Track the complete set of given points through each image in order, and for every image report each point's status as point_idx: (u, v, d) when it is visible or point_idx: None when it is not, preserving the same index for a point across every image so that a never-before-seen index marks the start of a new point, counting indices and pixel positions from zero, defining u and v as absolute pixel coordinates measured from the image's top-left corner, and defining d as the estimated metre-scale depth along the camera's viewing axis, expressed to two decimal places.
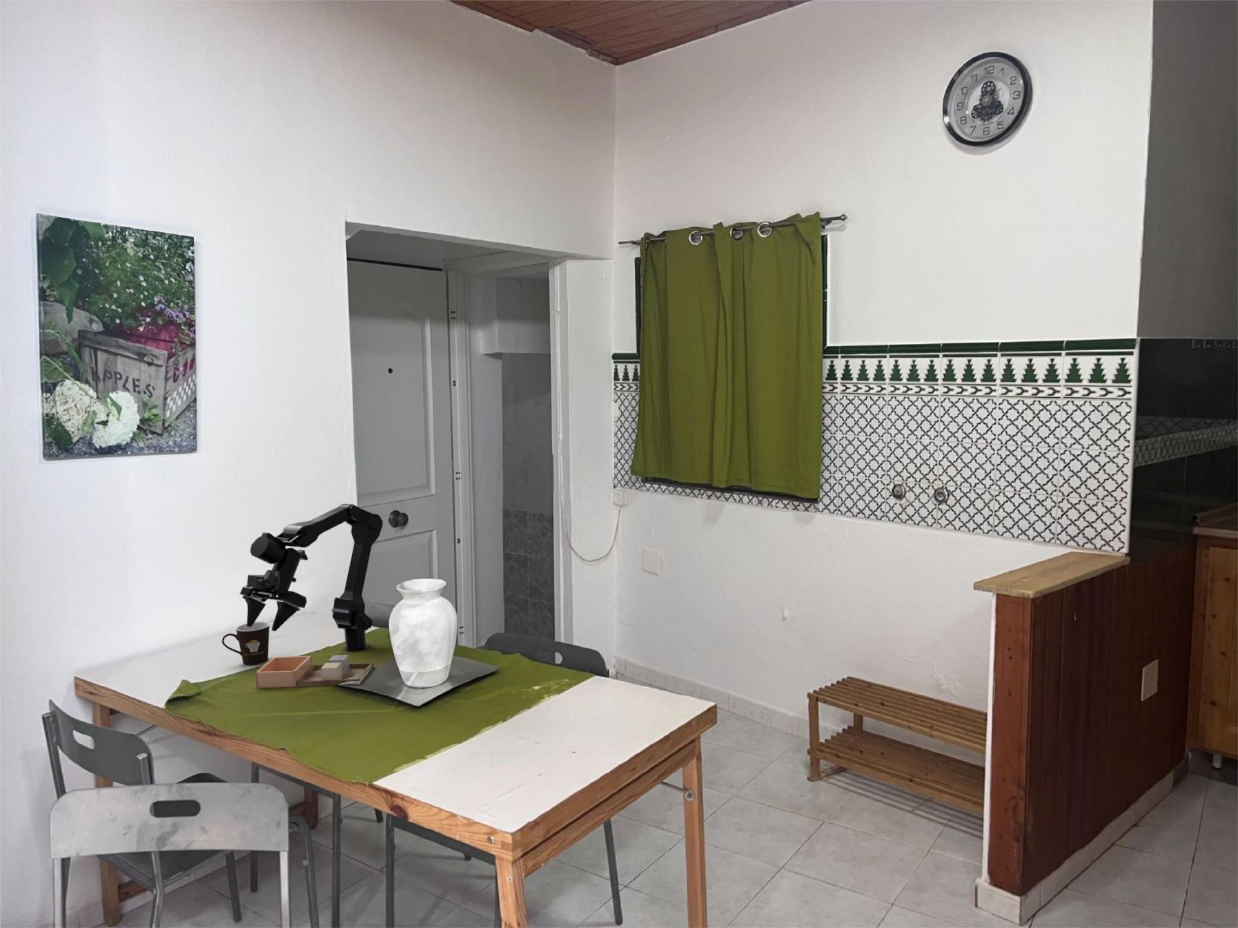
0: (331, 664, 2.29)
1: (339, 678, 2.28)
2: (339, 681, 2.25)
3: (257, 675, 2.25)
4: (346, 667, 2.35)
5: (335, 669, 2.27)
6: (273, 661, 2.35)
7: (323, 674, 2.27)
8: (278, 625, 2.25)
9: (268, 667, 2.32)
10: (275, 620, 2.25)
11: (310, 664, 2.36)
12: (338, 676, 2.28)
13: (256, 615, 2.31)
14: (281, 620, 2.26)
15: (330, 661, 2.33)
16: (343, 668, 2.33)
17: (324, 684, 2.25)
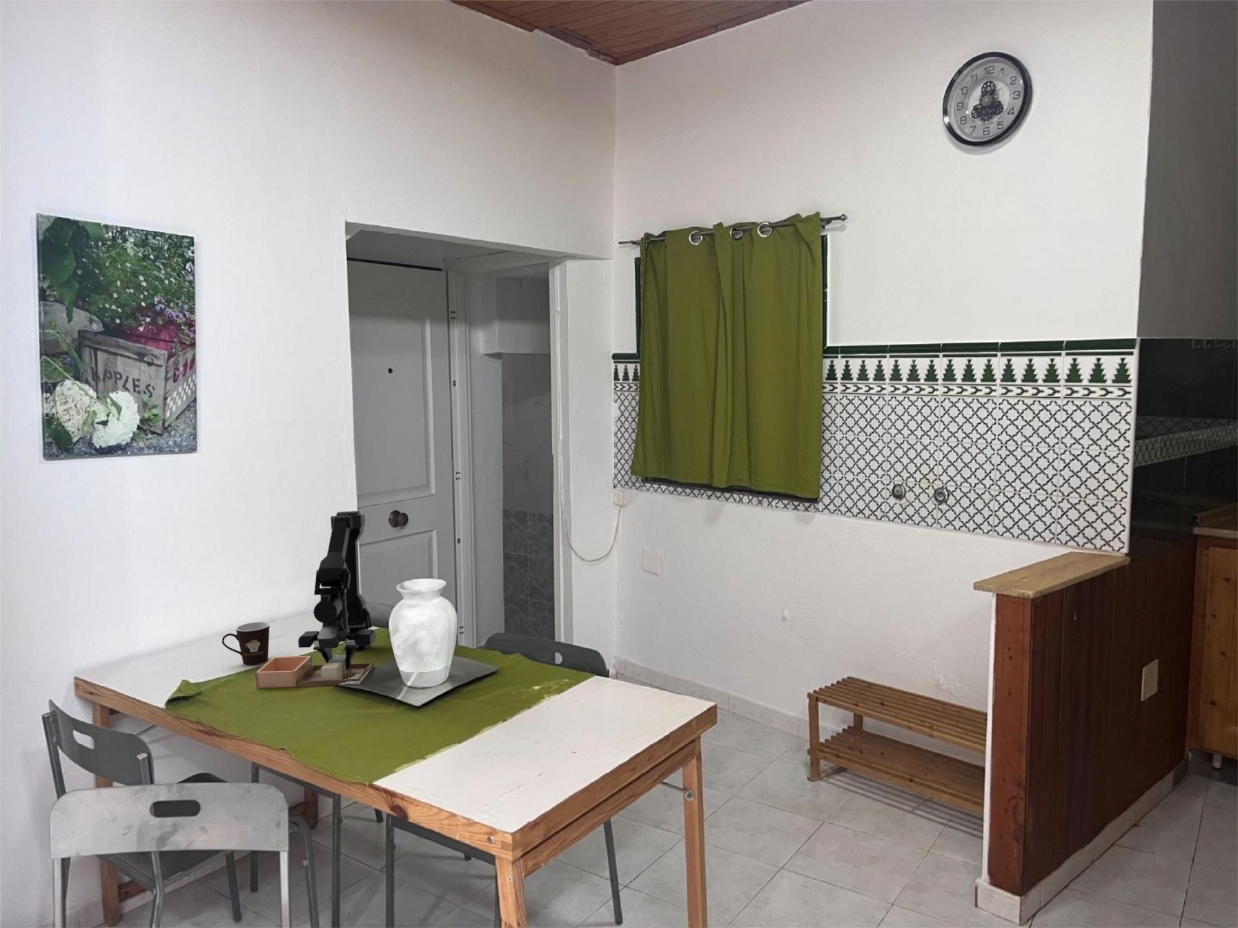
0: (331, 664, 2.29)
1: (339, 678, 2.28)
2: (339, 681, 2.25)
3: (257, 675, 2.25)
4: None
5: (335, 669, 2.27)
6: (273, 661, 2.35)
7: (323, 674, 2.27)
8: (350, 663, 2.35)
9: (268, 667, 2.32)
10: (347, 662, 2.34)
11: (310, 664, 2.36)
12: (338, 676, 2.28)
13: (331, 656, 2.35)
14: (351, 658, 2.35)
15: (330, 661, 2.33)
16: (343, 668, 2.33)
17: (324, 684, 2.25)
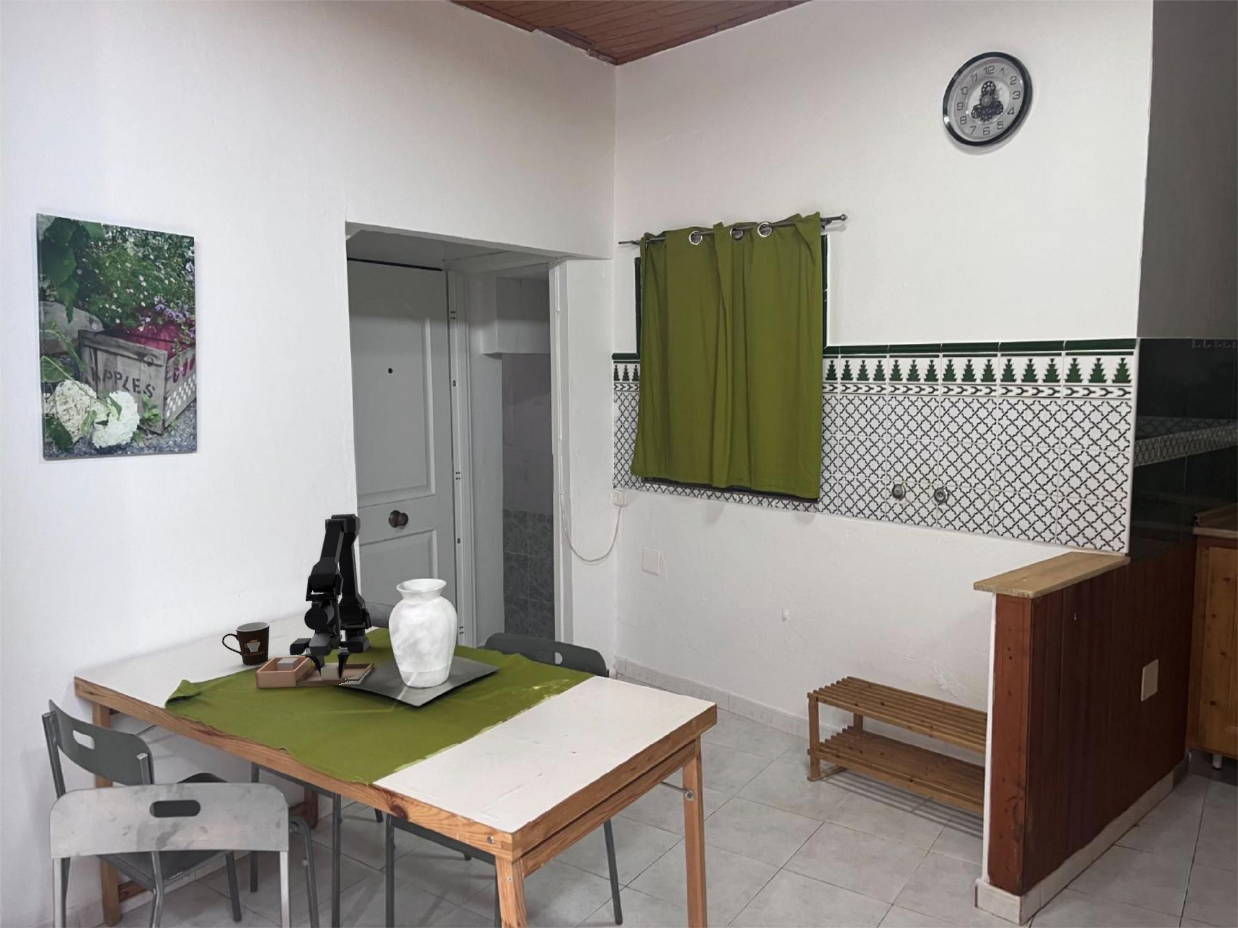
0: (331, 664, 2.29)
1: (339, 678, 2.28)
2: (339, 681, 2.25)
3: (257, 675, 2.25)
4: None
5: (335, 669, 2.27)
6: (273, 661, 2.35)
7: (323, 674, 2.27)
8: (343, 671, 2.29)
9: (268, 667, 2.32)
10: (340, 669, 2.28)
11: (310, 664, 2.36)
12: (338, 676, 2.28)
13: (323, 664, 2.30)
14: (344, 666, 2.29)
15: (279, 664, 2.32)
16: None
17: (324, 684, 2.25)
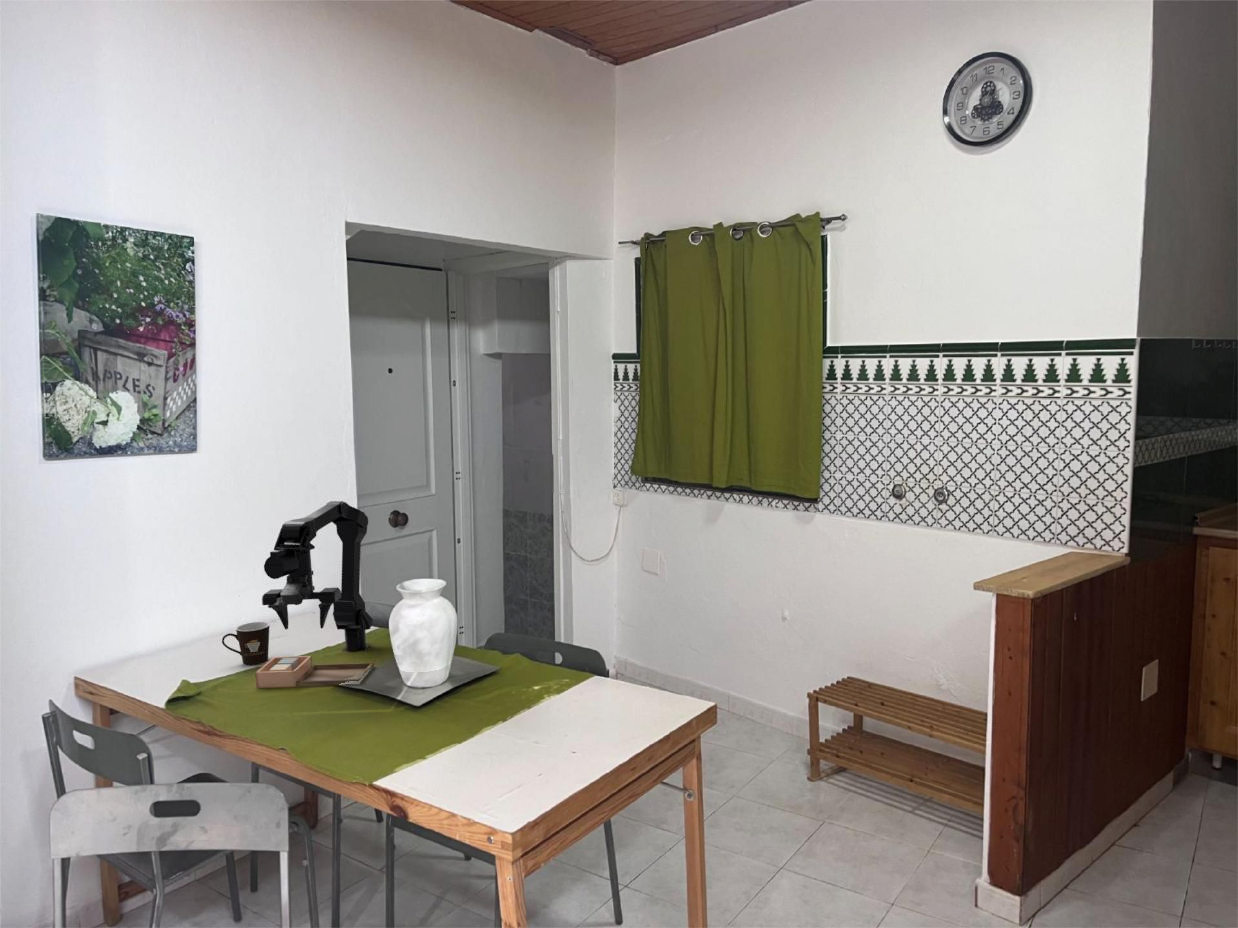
0: (280, 666, 2.29)
1: None
2: (339, 681, 2.25)
3: (257, 675, 2.25)
4: None
5: None
6: (273, 661, 2.35)
7: None
8: (324, 621, 2.33)
9: (268, 667, 2.32)
10: (321, 619, 2.31)
11: (310, 664, 2.36)
12: None
13: (287, 615, 2.33)
14: (325, 616, 2.32)
15: None
16: None
17: (324, 684, 2.25)
